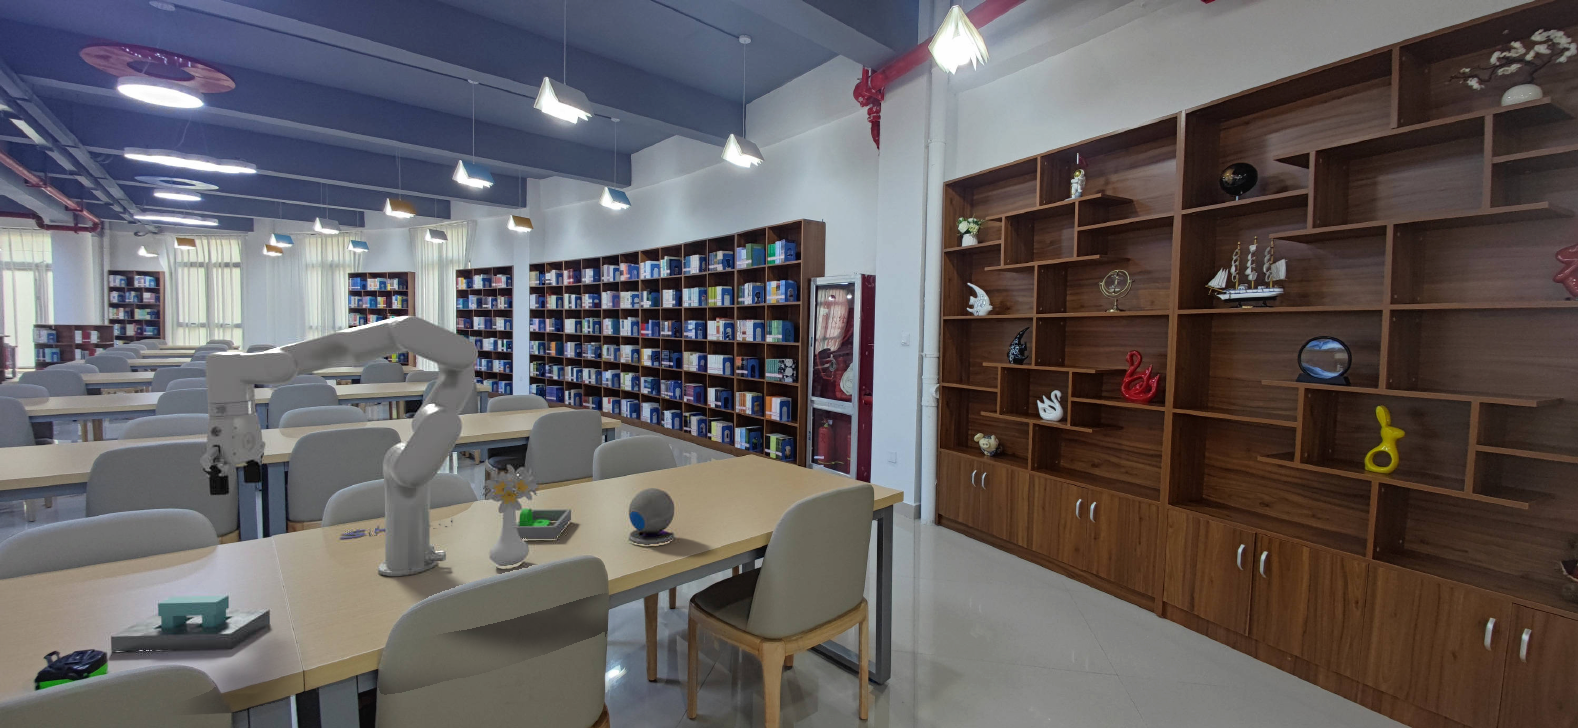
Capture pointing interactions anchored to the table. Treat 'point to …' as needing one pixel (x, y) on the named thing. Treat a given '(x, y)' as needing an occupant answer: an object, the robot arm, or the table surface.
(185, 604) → the clip
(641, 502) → the webcam
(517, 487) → the flower vase
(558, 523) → the parts tray
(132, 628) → the gray slotted base plate
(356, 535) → the signage
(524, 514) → the mechanical part
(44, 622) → the table surface
